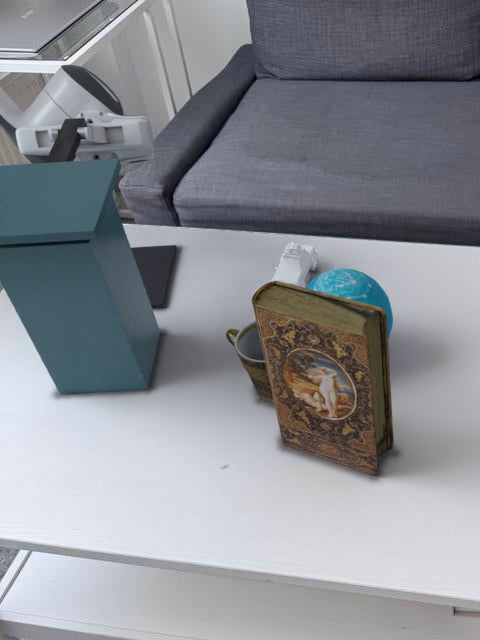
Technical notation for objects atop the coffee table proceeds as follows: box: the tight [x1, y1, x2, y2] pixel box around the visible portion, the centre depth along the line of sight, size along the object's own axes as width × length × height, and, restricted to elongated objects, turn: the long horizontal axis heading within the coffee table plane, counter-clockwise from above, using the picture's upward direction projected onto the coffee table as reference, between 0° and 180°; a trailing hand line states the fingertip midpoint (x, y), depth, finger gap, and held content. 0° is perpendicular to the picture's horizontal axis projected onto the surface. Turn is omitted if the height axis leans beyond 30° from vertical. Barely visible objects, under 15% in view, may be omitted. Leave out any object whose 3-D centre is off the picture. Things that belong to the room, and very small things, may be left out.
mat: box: [131, 244, 178, 309], centre depth 136 cm, size 18×13×1 cm
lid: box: [0, 118, 121, 245], centre depth 104 cm, size 31×18×1 cm, turn 2°
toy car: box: [270, 241, 318, 288], centre depth 131 cm, size 6×12×7 cm, turn 167°
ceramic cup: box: [225, 320, 274, 405], centre depth 113 cm, size 13×10×10 cm
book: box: [251, 281, 395, 476], centre depth 99 cm, size 16×6×25 cm, turn 65°
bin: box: [0, 195, 161, 395], centre depth 112 cm, size 14×14×26 cm
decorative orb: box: [305, 267, 394, 341], centre depth 115 cm, size 15×15×15 cm
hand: (68, 134), depth 110 cm, fingers closed on lid, 3 cm apart
